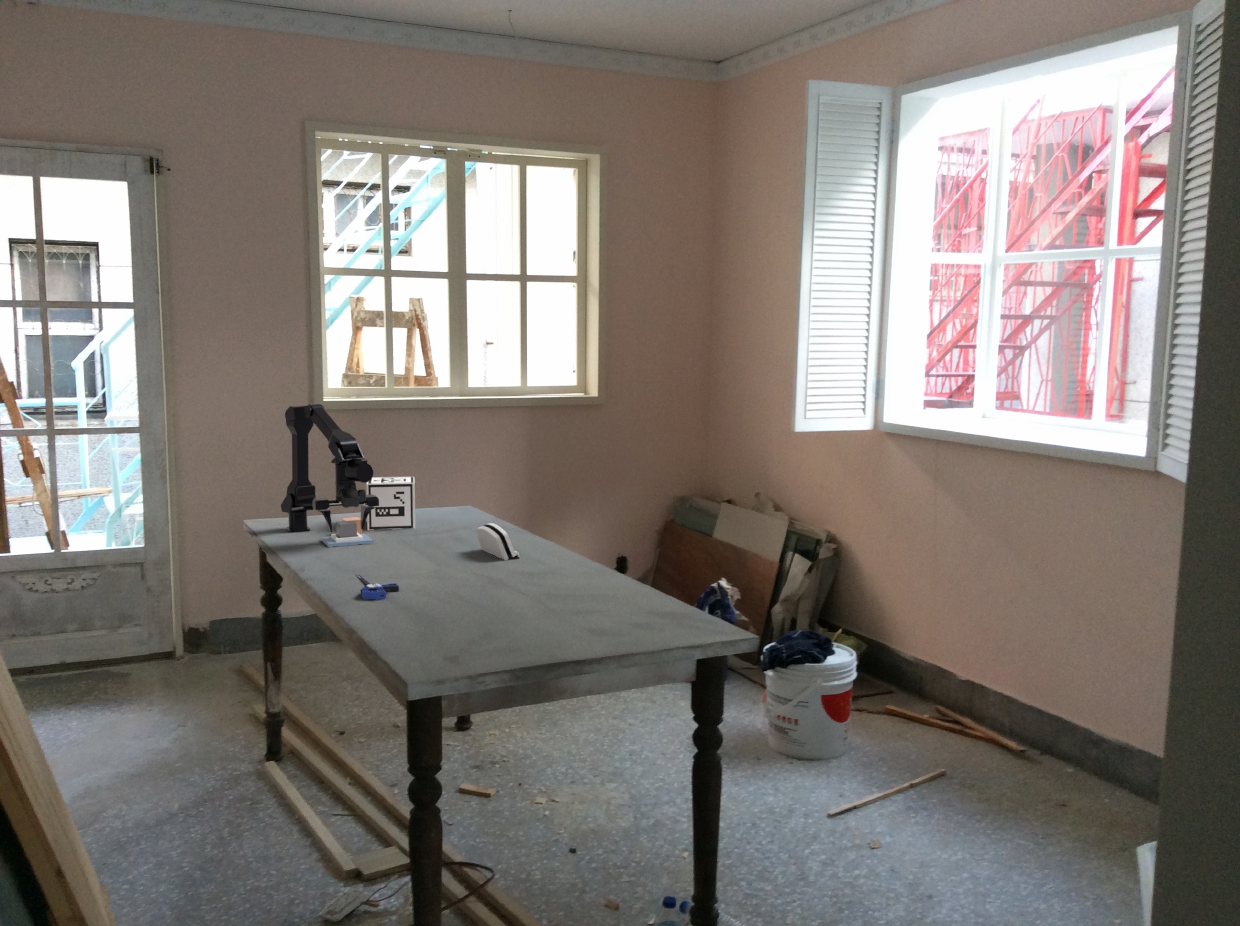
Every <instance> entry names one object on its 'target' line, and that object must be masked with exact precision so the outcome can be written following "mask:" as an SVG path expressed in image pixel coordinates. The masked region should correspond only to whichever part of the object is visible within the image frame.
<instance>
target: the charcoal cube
mask: <svg viewBox="0 0 1240 926" xmlns="http://www.w3.org/2000/svg"><path fill="white" fill-rule="evenodd" d="M335 524H336V534H337V537H338V538H347V537H357V523H356V522H355V521H353V520H351V521H342V520H340V521H336V522H335Z"/></svg>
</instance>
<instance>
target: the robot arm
mask: <svg viewBox="0 0 1240 926" xmlns="http://www.w3.org/2000/svg"><path fill="white" fill-rule="evenodd" d="M284 417H285V425H286V427H287V429H288V430H289V432H290V434H291V470H292V471H291V472H292V473H291V477H292V478H291V480H290V482H289V483H288V486H287V488H286V496H285V497H284V499H283V500H282V502H281V504H280V508H281V512H283V513H287V517H288V518H287V519H288V526H286V527H285V529H286V530H287V531H288V532H289V533H293V532H305V531H311V528H310V527H309V526H308V511H314V510H315V511H317V512H319V513H321V514H322V516H323V517H324V520H325V522H326V525H327V527H328V530H329V532H330V533H333V523H332V518H331V509H330V507H341V506H342V507H343V508H345V509H346V508H347V509H348V508H352V507H353V508H358V507H359V506H360V519H361V529H362V531H363V530H364V528H365V524H366V522H367V516H368V514H369V512H370V511H371V510H372V509H375V507H374V506H379V498H378V497H377V496H375V495H367V490H366V489H357V486H356V485H357V483H356V482H359V483H364V484H367V482H369V481H370V480H371V479H372V477H373V476H374V470H373V467H372V465H370V464H369V463H368V459H367V458H365V456H364V452H363V450H362V448H361V446H360V444H359V442H358V440H357V439H356V438H355V437H354V436H353V435H352V434H351V433H349V432H346V431H344V430H342V429H341V428H340V426H339V425H338V424H337V423H336V422H335V420H333V419H332V418H333V417H331V416H330V415H329V414H328V412H327V411H326V409H325V407H324V405H323V404H320V403H312V404H307V405H292V406H289V407H288V408H287V409H286V410H285V412H284ZM314 425H315V426H316V427H317V428H318V430H319V431H320V433H321V434H322V435H323V436H324V437H325V438H326V440H327V441H328V445H327V447H328V449H329V451H330V452H331V455H332V456H334V458H332V459H331V463H332V464H334V473H335V474H334V475H335V481H334V482H335V499H328V498H327V497H316V485H314V484H312V482H311V481H310V479H309V477H310V476H309V475H310V474H309V471H310V470H309V468H310V466H309V434H310V433H311V430H312V429H313V428H314Z"/></svg>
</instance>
